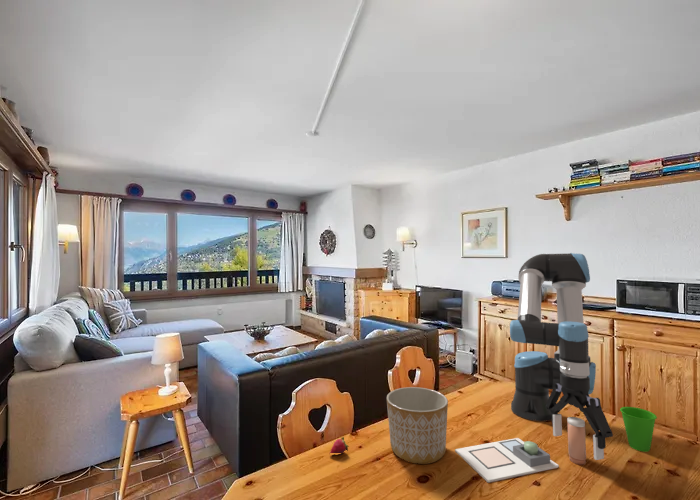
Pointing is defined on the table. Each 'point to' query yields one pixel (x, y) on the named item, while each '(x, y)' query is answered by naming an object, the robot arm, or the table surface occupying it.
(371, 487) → the table surface
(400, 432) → the planter
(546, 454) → the button housing
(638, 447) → the cup
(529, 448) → the button
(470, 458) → the sheet
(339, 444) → the fruit
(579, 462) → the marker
